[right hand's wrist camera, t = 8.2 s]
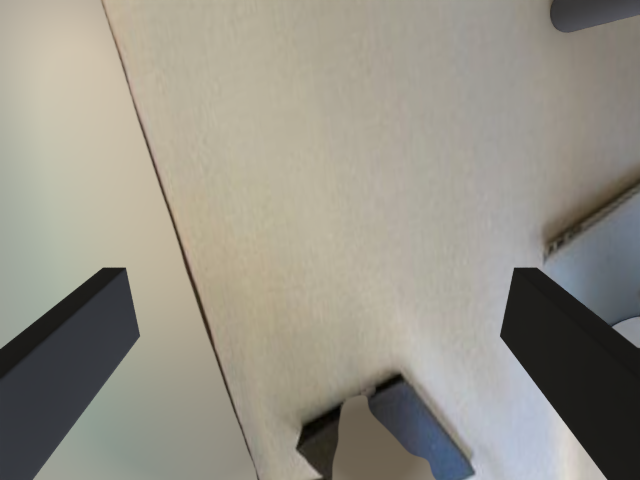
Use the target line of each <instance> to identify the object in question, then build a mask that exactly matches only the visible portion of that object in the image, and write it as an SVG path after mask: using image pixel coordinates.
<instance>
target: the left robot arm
mask: <svg viewBox="0 0 640 480" xmlns="http://www.w3.org/2000/svg"><path fill="white" fill-rule="evenodd" d="M612 328H614V329H615V330H616V331H617V332H619V333H620V334H621V335H622V336H624V337H625V338H626V339H627V340H629V341H630V342H631V343H632V344H634V345H635V346H636V347H638V348H640V317H635V318H631V319H627V320H624V321H622V322H620V323H618V324H616V325H614V326H612Z"/></svg>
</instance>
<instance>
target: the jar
mask: <svg viewBox="0 0 640 480" xmlns="http://www.w3.org/2000/svg"><path fill="white" fill-rule="evenodd" d="M550 15H551V21H552V23H553V25H554V27H555V28H556V29H558V30H559V31H562V32H573V31H577V30H581V29H584V28H588V27H592V26H596V25H600V24H604V23H608V22H612V21H616V20H620V19H624V18H628V17H632V16H636V15H640V0H554V1H553V4H552V7H551V13H550Z"/></svg>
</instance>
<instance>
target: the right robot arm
mask: <svg viewBox="0 0 640 480" xmlns="http://www.w3.org/2000/svg"><path fill="white" fill-rule="evenodd" d="M139 337H140V334H139V329H138V324H137V319H136V314H135V310H134V305H133V300H132V295H131V290H130V286H129V281H128V276H127V271H126V268H102V269H101V270H100V271H98V272H97V273H96V274H94V275H93V276H92V277H91V278H89V279H88V280H87V281H86V282H85V283H83V284H82V285H81V286H79V287H78V288H77V289H76V290H74V291H73V292H72V293H71V294H69V295H68V296H67V297H66V298H64V299H63V300H62V301H60V302H59V303H58V304H57V305H55V306H54V307H53V308H52V309H50V310H49V311H48V312H47V313H45V314H44V315H43V316H42V317H40V318H39V319H38V320H37V321H35V322H34V323H33V324H32V325H30V326H29V327H28V328H26V329H25V330H24V331H23V332H21V333H20V334H19V335H18V336H16V337H15V338H14V339H13V340H11V341H10V342H9V343H8V344H6V345H5V346H4V347H2V348H1V349H0V480H33V478H34V477H35V476H36V475H37V473H38V472H39V471H40V469H41V468H42V466H43V465H44V464H45V462H46V461H47V460H48V458H49V457H50V456H51V454H52V453H53V452H54V450H55V449H56V448H57V446H58V445H59V444H60V442H61V441H62V440H63V438H64V437H65V436H66V434H67V433H68V432H69V430H70V429H71V428H72V426H73V425H74V424H75V422H76V421H77V420H78V418H79V417H80V416H81V414H82V413H83V412H84V410H85V409H86V408H87V406H88V405H89V404H90V402H91V401H92V400H93V398H94V397H95V396H96V394H97V393H98V392H99V390H100V389H101V388H102V386H103V385H104V384H105V382H106V381H107V380H108V378H109V377H110V376H111V374H112V373H113V372H114V370H115V369H116V368H117V366H118V365H119V364H120V362H121V361H122V360H123V358H124V357H125V356H126V354H127V353H128V352H129V350H130V349H131V348H132V346H133V345H134V343H135V342H136V341H137V339H138V338H139ZM500 337H501V338H502V340H503V341H504V342H505V344H506V345H507V346H508V348H509V349H510V350H511V352H512V353H513V354H514V356H515V357H516V358H517V360H518V361H519V362H520V364H521V365H522V366H523V368H524V369H525V370H526V372H527V373H528V374H529V376H530V377H531V378H532V380H533V381H534V382H535V384H536V385H537V386H538V388H539V389H540V390H541V392H542V393H543V394H544V396H545V397H546V398H547V400H548V401H549V402H550V404H551V405H552V406H553V408H554V409H555V410H556V412H557V413H558V414H559V416H560V417H561V418H562V420H563V421H564V422H565V424H566V425H567V426H568V428H569V429H570V430H571V432H572V433H573V434H574V436H575V437H576V438H577V440H578V441H579V442H580V444H581V445H582V446H583V448H584V449H585V450H586V452H587V453H588V454H589V456H590V457H591V458H592V460H593V461H594V462H595V464H596V465H597V466H598V468H599V469H600V471H601V472H602V473H603V475H604V476H605V477H606V479H607V480H640V348H638V347H636V346H635V345H634V344H632V343H631V342H630V341H629V340H627V339H626V338H625V337H624V336H622V335H621V334H620V333H619V332H617V331H616V330H615V329H614V328H612V327H611V326H610V325H609V324H607V323H606V322H605V321H603V320H602V319H601V318H600V317H598V316H597V315H596V314H595V313H593V312H592V311H591V310H590V309H588V308H587V307H586V306H585V305H583V304H582V303H581V302H580V301H578V300H577V299H576V298H574V297H573V296H572V295H571V294H569V293H568V292H567V291H566V290H564V289H563V288H562V287H561V286H559V285H558V284H557V283H556V282H554V281H553V280H552V279H551V278H549V277H548V276H547V275H546V274H544V273H543V272H542V271H540V270H539V269H538V268H514V271H513V276H512V281H511V285H510V290H509V295H508V300H507V305H506V310H505V314H504V319H503V324H502V329H501V334H500Z"/></svg>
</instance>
